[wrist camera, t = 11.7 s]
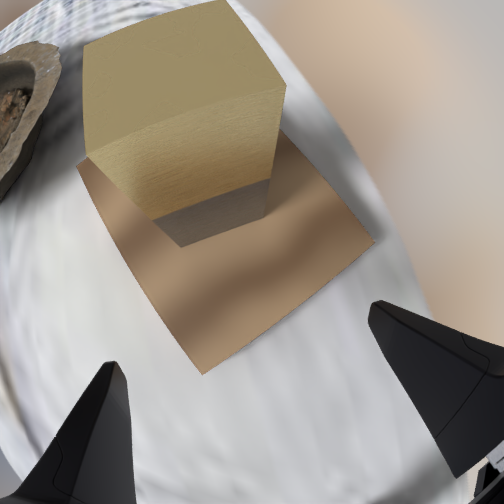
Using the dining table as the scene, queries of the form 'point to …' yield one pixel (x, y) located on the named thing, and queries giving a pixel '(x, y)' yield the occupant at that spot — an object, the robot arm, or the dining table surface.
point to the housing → (185, 118)
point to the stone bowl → (23, 104)
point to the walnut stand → (236, 257)
